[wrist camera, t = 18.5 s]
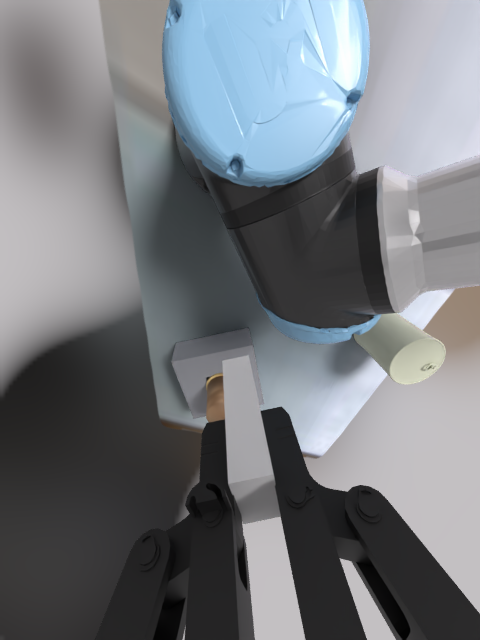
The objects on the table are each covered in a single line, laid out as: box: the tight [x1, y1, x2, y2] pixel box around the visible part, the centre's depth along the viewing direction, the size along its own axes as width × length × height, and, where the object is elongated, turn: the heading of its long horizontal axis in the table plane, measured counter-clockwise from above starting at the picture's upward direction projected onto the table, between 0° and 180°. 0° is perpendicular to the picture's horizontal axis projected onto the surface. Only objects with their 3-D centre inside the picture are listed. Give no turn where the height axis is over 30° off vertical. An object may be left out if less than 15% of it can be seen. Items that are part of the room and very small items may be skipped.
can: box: [353, 313, 446, 384], centre depth 44 cm, size 9×9×12 cm
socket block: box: [171, 328, 264, 419], centre depth 47 cm, size 14×14×6 cm
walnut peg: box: [206, 373, 225, 423], centre depth 44 cm, size 5×5×13 cm
